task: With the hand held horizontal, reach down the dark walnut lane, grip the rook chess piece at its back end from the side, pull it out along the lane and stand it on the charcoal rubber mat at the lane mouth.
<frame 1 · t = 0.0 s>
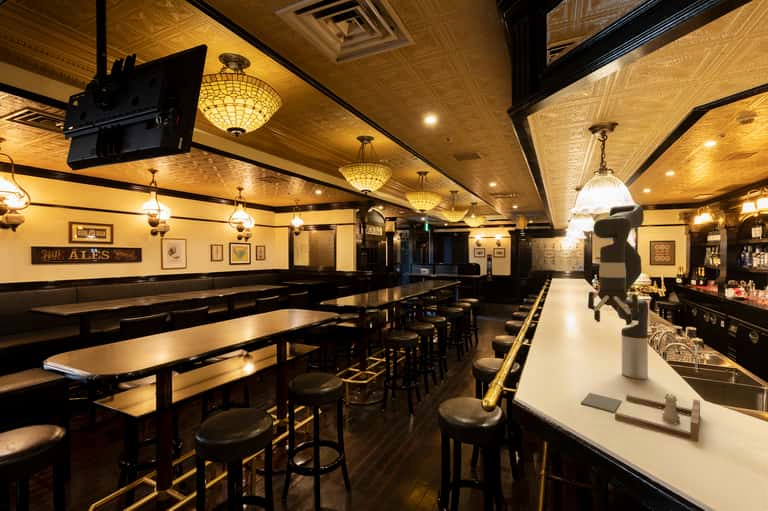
hand: (612, 323, 116), 29 cm above the bar counter, tool pointing down, fingers open, 8 cm apart
walnut lane: (654, 416, 111), on the bar counter
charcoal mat: (601, 402, 121), on the bar counter
rook chess piece: (670, 421, 108), resting in walnut lane
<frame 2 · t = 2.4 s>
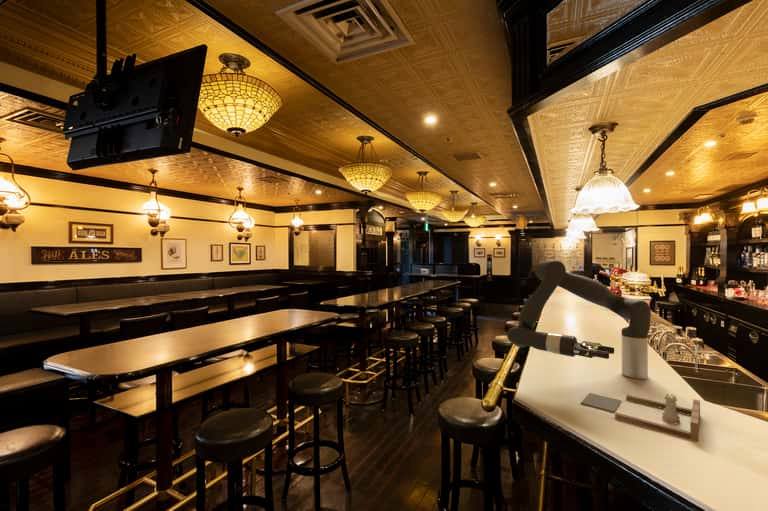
hand: (611, 353, 119), 18 cm above the bar counter, tool horizontal, fingers open, 8 cm apart
nothing on the bar counter moved.
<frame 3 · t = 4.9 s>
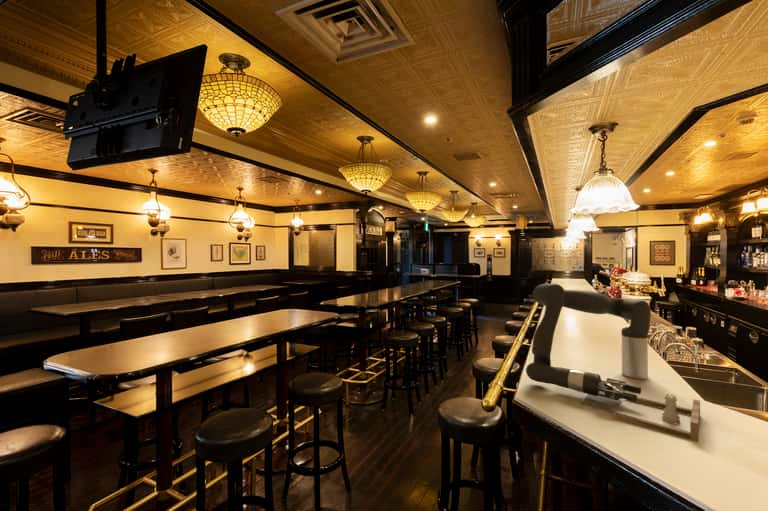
hand: (639, 394, 114), 6 cm above the bar counter, tool horizontal, fingers open, 8 cm apart
nothing on the bar counter moved.
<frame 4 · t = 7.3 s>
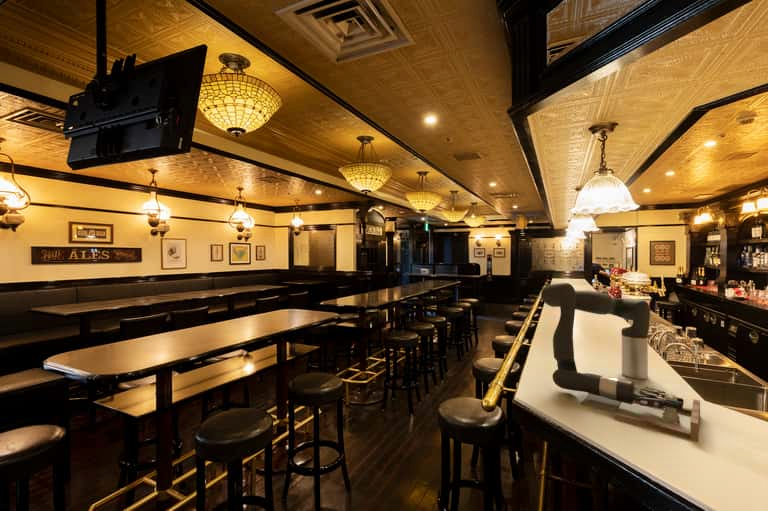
hand: (682, 404, 106), 6 cm above the bar counter, tool horizontal, fingers closed on rook chess piece, 3 cm apart
rook chess piece: (670, 421, 108), resting in walnut lane, touching gripper
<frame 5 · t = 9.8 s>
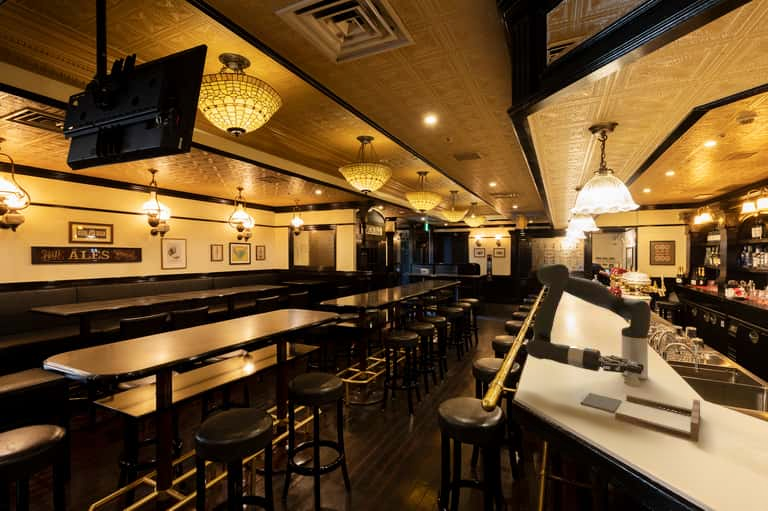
hand: (642, 369, 113), 15 cm above the bar counter, tool horizontal, fingers closed on rook chess piece, 3 cm apart
rook chess piece: (631, 385, 115), point 8 cm above the bar counter, touching gripper
when the fingers open (7 cm above the bar counter, at t = 12.4 s): rook chess piece stays where it is, resting on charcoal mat.
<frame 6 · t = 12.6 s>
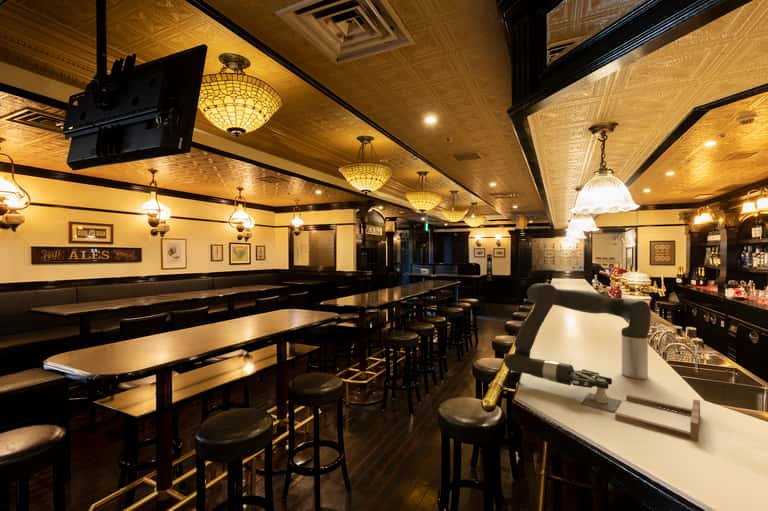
hand: (609, 383, 119), 7 cm above the bar counter, tool horizontal, fingers open, 5 cm apart
rook chess piece: (601, 401, 121), resting on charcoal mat
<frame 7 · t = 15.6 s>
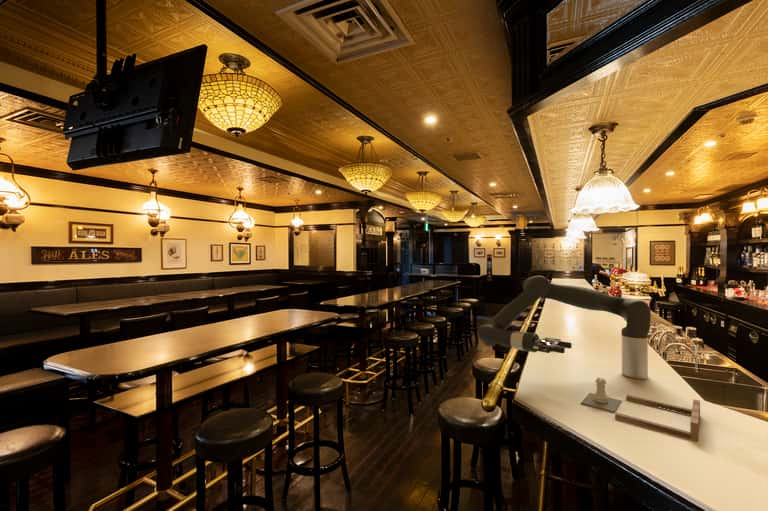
hand: (567, 348, 129), 18 cm above the bar counter, tool horizontal, fingers open, 8 cm apart
nothing on the bar counter moved.
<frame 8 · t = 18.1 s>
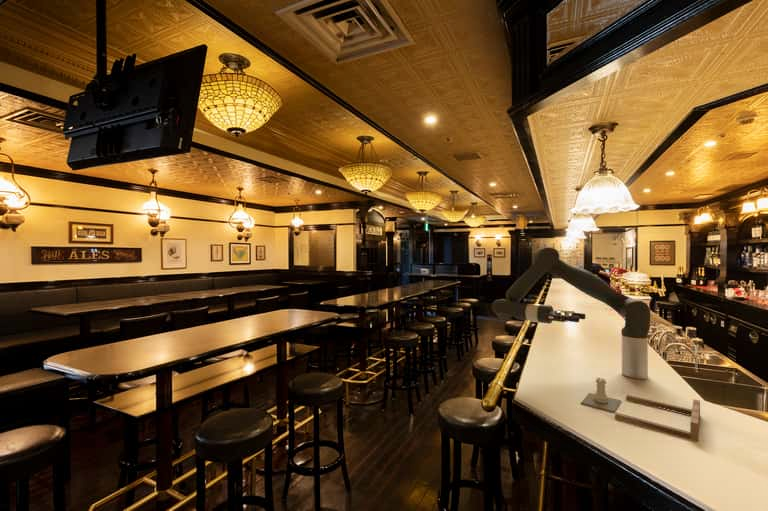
hand: (582, 318, 133), 28 cm above the bar counter, tool horizontal, fingers open, 8 cm apart
nothing on the bar counter moved.
at the end: rook chess piece inside the target area on the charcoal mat (0.1 cm from its centre), point 0.3 cm above the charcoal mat's base; rook chess piece tilted 0°; the gripper is holding nothing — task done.
